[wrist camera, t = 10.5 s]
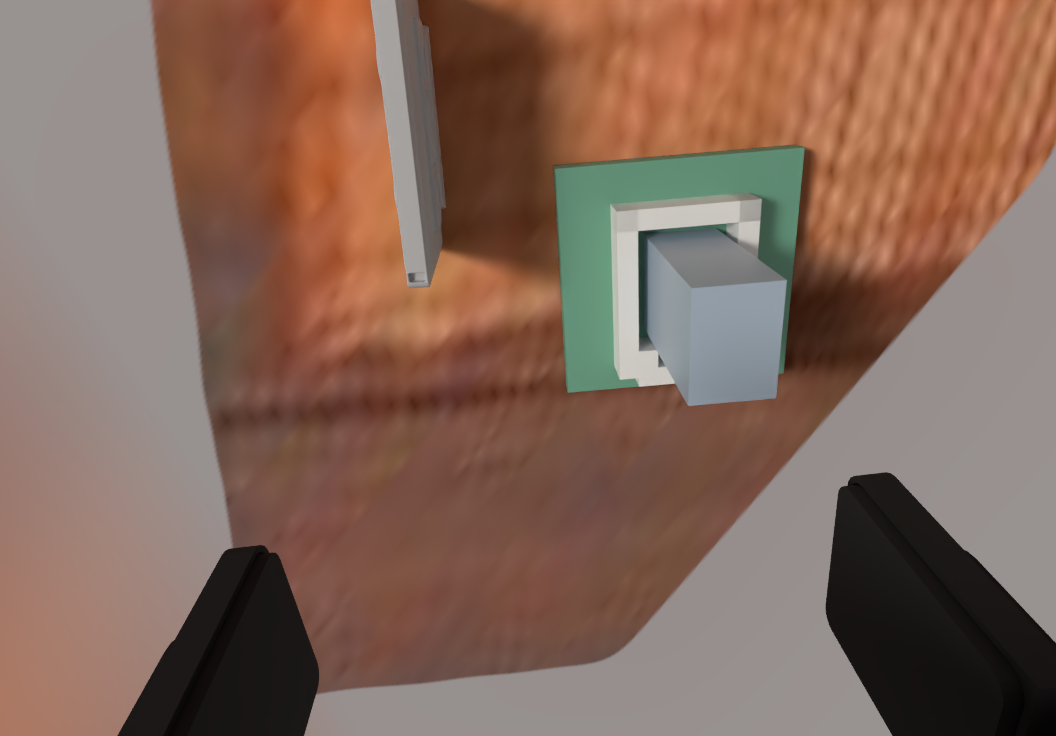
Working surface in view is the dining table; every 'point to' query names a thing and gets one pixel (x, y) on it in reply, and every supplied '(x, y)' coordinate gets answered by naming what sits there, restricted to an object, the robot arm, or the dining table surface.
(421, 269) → the cassette
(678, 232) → the plug
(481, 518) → the dining table surface
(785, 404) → the dining table surface
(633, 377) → the header board
